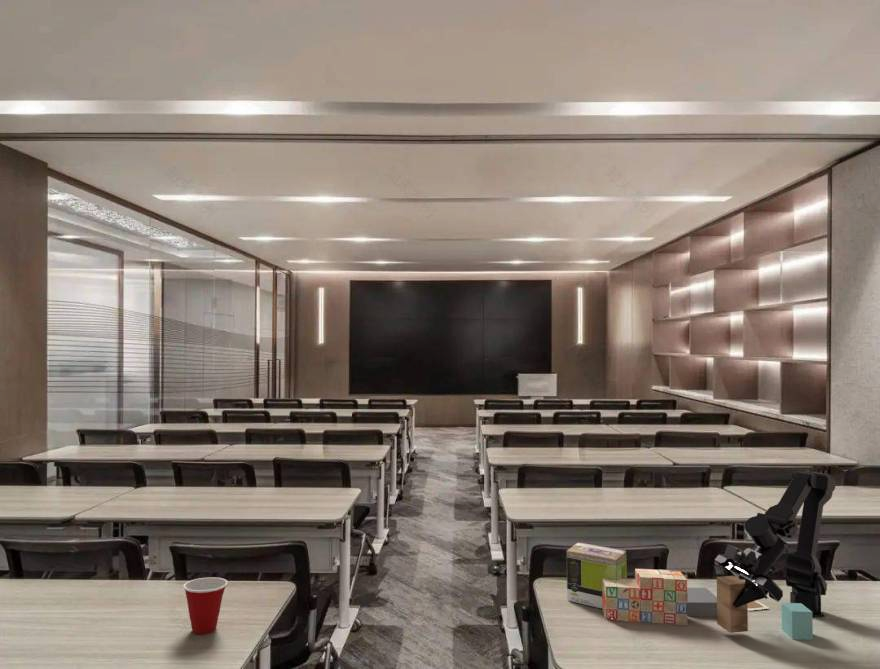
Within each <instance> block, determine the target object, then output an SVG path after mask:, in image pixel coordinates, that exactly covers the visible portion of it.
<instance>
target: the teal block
mask: <svg viewBox="0 0 880 669" xmlns="http://www.w3.org/2000/svg"><path fill="white" fill-rule="evenodd" d="M813 625H814V624H813V616H812V611H810V610H809V609H808V608H807V607H805V606H804V605H803V604H801V603H790V602H781V630H782V631H783V633H785V634H786V635H787V636H788V637H789V638H790V639H792V640H802V639H809V640H808V641H813V640H814V636H813V634H814V633H813V630H814V629H813V628H814V627H813Z"/></svg>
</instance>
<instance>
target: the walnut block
mask: <svg viewBox="0 0 880 669" xmlns="http://www.w3.org/2000/svg"><path fill="white" fill-rule="evenodd" d="M744 587H745V580H743V579H740V577H739V578H737V577H735V576H724V575H723V576H716V597H717V616H716V622H717V623H716V624H717V625H718V626H720V627H721V628H723V629H724V630H726V631H727V632H729V633H730V634H733V633H734V634H735V633H742V632H749V626H748V625H749V618H748V616H749V613H748V612H749V611H748V603H747V604H745V605H742V606H740V607H737V608H736V607H735V606H734V605H733V603H734V601H735V600H736V598H737V597H738V595H739V594H740V593H741V591H742V590H743V588H744Z"/></svg>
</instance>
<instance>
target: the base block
mask: <svg viewBox="0 0 880 669" xmlns="http://www.w3.org/2000/svg"><path fill="white" fill-rule="evenodd" d="M687 592H688V602H687V617H717V595H715V594H714V593H713V592H711V591H710V590H709V589H708V588H707V587H687Z"/></svg>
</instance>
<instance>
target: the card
mask: <svg viewBox="0 0 880 669" xmlns="http://www.w3.org/2000/svg"><path fill="white" fill-rule="evenodd" d="M762 609H763V610H762ZM764 609H768V610H770V609H771V608H770V607H768V606H767V605H765V604H763V603H761V602H760V601H759V600H756V601H753V602H750V603H748V612H755V611H754V610H758V611H765V610H764Z"/></svg>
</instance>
